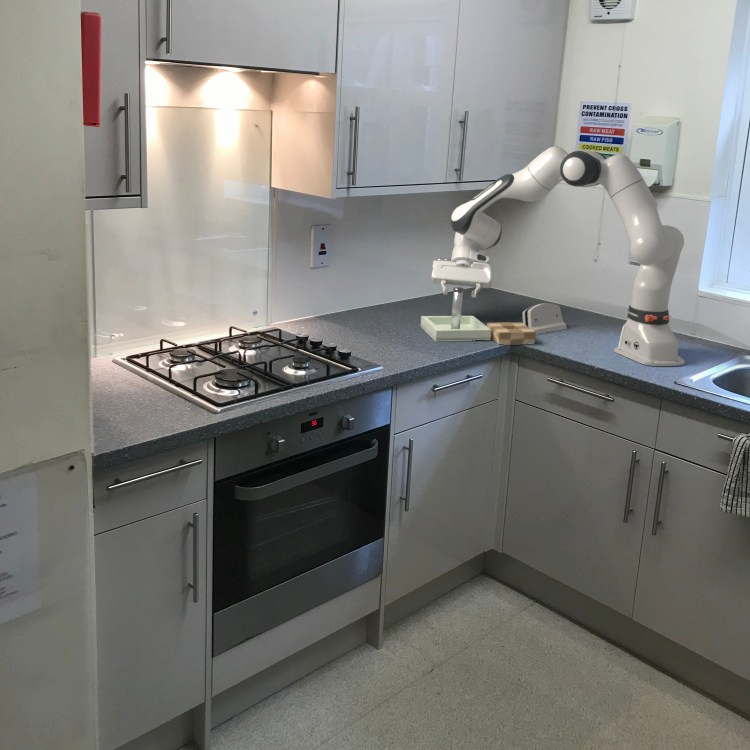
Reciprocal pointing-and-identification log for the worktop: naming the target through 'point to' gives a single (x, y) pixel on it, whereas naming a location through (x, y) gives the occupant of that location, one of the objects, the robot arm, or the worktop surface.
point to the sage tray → (442, 329)
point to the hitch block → (511, 333)
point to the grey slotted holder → (544, 318)
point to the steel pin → (457, 307)
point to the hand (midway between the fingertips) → (459, 295)
